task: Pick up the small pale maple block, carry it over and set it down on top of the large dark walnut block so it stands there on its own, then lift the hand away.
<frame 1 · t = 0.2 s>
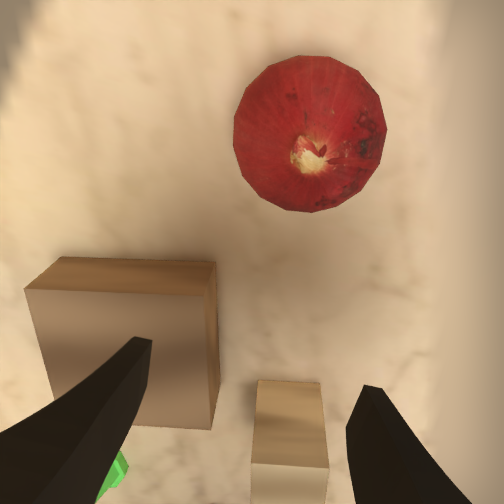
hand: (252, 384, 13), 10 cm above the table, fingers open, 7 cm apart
onion: (303, 124, 19), on the table
maple block: (287, 404, 27), on the table
walnut block: (147, 321, 25), on the table
game piece: (102, 459, 31), on the table
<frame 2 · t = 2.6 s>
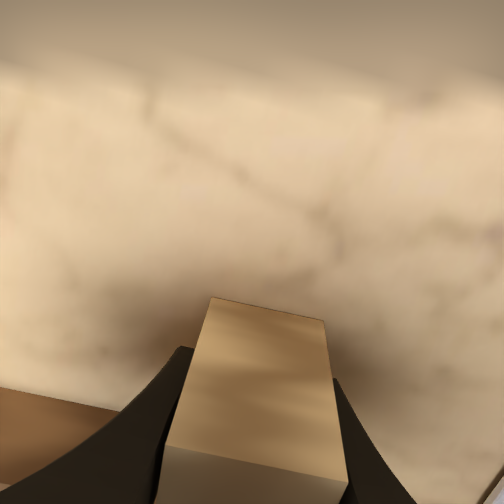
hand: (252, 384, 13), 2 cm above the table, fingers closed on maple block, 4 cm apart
maple block: (255, 353, 15), on the table, touching gripper
walnut block: (93, 469, 19), on the table
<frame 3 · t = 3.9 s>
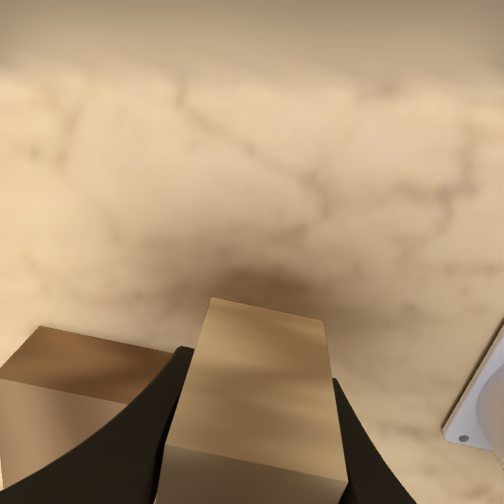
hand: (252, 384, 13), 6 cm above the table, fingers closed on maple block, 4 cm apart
maple block: (255, 352, 15), point 4 cm above the table, touching gripper
walnut block: (123, 402, 22), on the table
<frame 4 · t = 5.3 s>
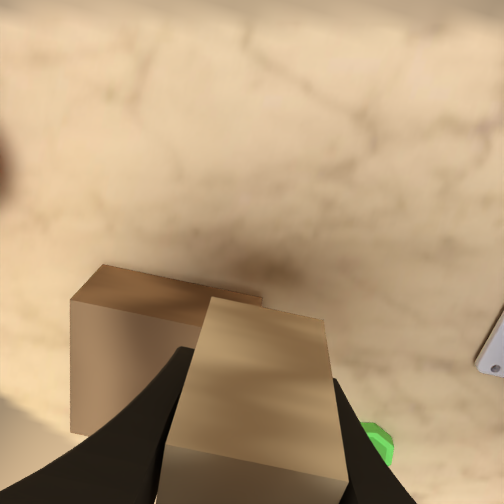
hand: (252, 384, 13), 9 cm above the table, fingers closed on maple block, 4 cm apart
maple block: (256, 352, 15), point 7 cm above the table, touching gripper
walnut block: (175, 341, 24), on the table
game piece: (358, 441, 26), on the table
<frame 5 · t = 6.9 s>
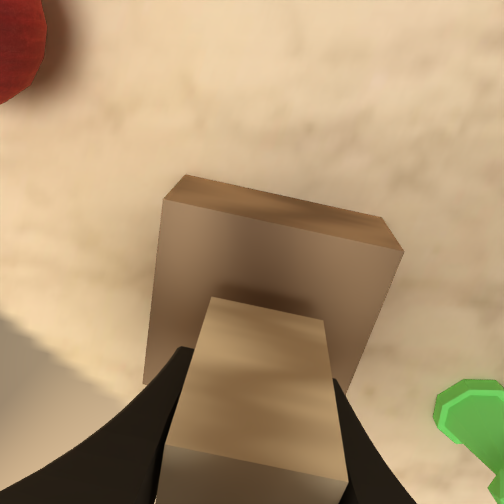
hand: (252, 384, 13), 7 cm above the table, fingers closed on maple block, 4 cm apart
onion: (16, 23, 16), on the table
maple block: (255, 352, 15), point 5 cm above the table, touching gripper
walnut block: (263, 278, 20), on the table
game piece: (470, 404, 22), on the table
when the fingers open (7 cm above the table, at t = 8.0 s): maple block drops 2 cm, point 4 cm above the table.
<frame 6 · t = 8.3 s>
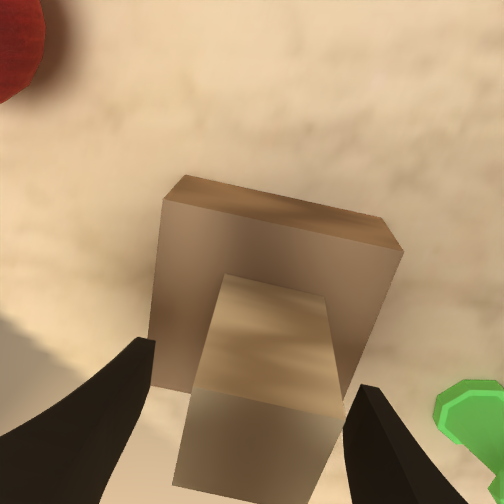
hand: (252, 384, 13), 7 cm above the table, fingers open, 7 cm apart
onion: (15, 23, 16), on the table
maple block: (262, 326, 16), point 4 cm above the table
walnut block: (263, 278, 20), on the table
game piece: (470, 404, 22), on the table
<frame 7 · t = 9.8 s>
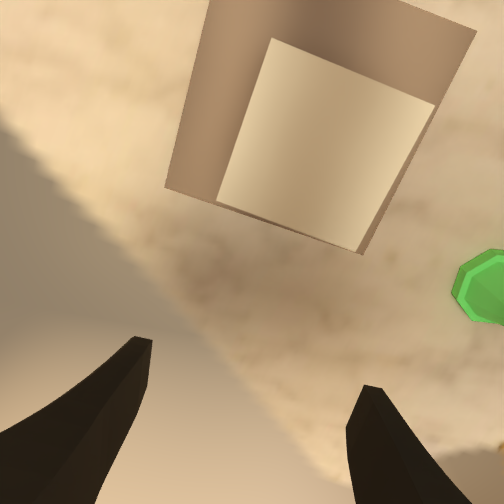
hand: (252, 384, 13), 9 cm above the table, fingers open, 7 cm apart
maple block: (305, 122, 15), point 4 cm above the table, touching walnut block
walnut block: (300, 108, 19), on the table, touching maple block
game piece: (491, 282, 22), on the table
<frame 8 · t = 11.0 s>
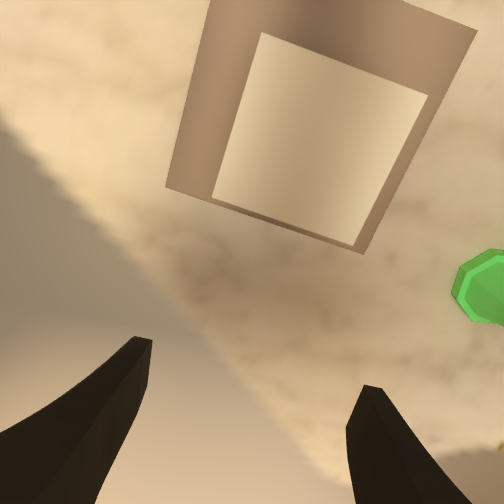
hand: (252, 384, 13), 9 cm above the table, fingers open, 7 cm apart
maple block: (302, 118, 15), point 4 cm above the table, touching walnut block
walnut block: (300, 107, 19), on the table, touching maple block
game piece: (491, 282, 22), on the table
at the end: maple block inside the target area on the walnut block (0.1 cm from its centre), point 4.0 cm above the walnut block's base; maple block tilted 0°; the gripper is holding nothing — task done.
